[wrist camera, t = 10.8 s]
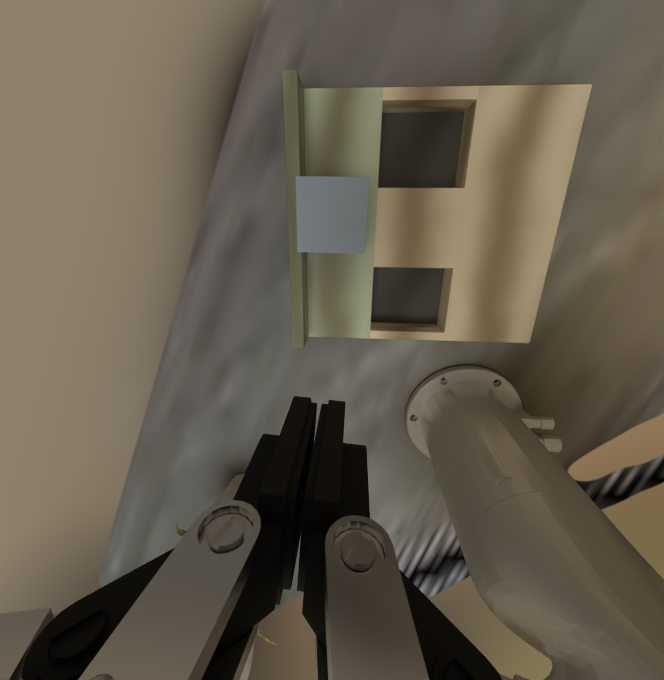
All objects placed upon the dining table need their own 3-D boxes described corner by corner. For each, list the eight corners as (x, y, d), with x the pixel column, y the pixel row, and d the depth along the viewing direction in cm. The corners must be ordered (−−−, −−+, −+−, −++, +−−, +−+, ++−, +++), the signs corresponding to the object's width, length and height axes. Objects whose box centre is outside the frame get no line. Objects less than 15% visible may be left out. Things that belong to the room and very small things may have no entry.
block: (366, 185, 26) (369, 176, 21) (363, 248, 27) (365, 253, 23) (305, 185, 26) (295, 176, 21) (306, 247, 28) (297, 252, 23)
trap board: (565, 99, 25) (626, 64, 20) (514, 332, 32) (548, 355, 27) (297, 103, 27) (282, 70, 21) (302, 327, 33) (292, 347, 28)
